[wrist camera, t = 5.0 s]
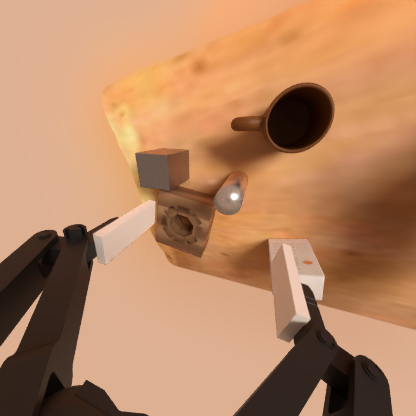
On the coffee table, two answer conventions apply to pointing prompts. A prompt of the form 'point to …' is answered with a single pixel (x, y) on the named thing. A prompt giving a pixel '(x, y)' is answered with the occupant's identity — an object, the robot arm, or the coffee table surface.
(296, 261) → the small box
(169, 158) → the square block
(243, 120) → the mug
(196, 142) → the coffee table surface
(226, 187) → the round peg
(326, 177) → the coffee table surface
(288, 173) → the coffee table surface
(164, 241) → the socket block
